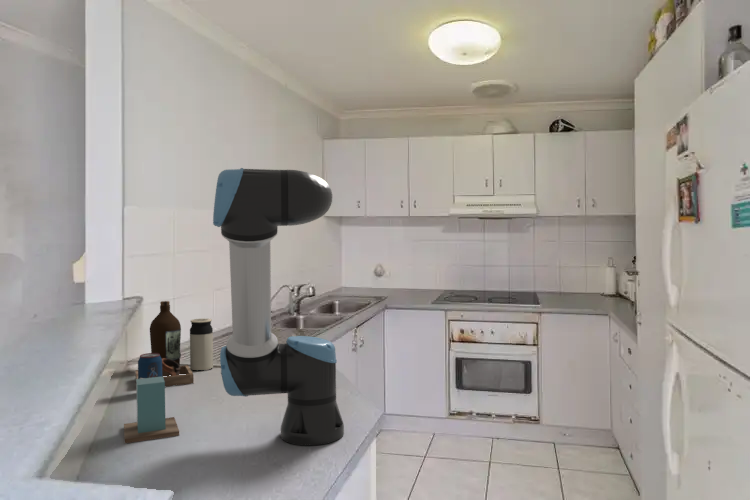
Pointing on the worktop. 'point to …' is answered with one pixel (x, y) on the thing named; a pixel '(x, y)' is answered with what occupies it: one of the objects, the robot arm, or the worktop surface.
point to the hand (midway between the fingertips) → (256, 302)
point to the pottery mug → (170, 369)
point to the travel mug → (201, 344)
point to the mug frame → (177, 377)
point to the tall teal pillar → (150, 404)
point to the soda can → (149, 365)
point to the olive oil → (166, 334)
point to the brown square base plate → (134, 436)
